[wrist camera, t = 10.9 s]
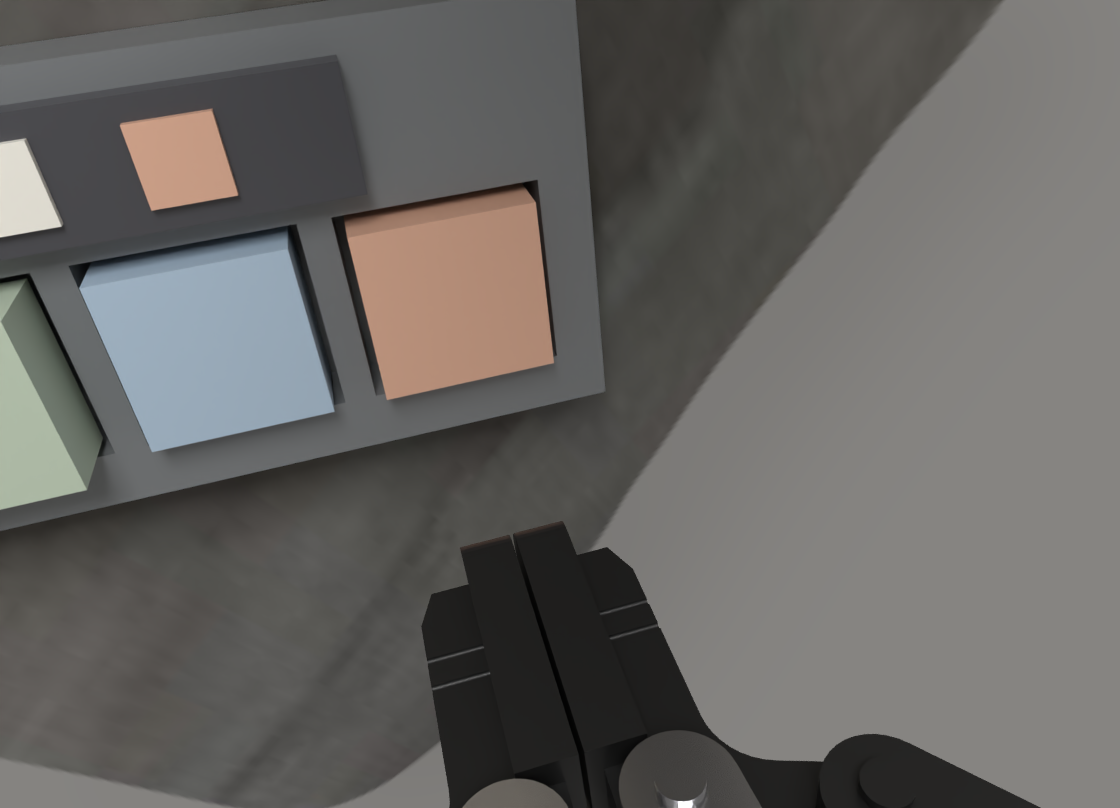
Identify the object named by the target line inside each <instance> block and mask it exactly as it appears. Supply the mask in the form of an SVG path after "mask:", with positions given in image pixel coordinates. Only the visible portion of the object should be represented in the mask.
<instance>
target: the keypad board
mask: <svg viewBox="0 0 1120 808" xmlns="http://www.w3.org/2000/svg"><path fill="white" fill-rule="evenodd" d="M516 183H522V184H523V186H524V187H525V188H526V190H527V191H528V192H529V194H530V195H531V197H532V198H533V199H534V201H535V202H536V208H537V217H538V226H539V235H540V244H541V253H542V261H543V270H544V279H545V288H546V297H547V306H548V314H549V323H550V332H551V341H552V350H553V359H554V363H552V364H547V365H543V366H538V367H534V368H529V369H525V370H520V371H516V372H511V373H507V374H502V375H498V376H493V377H489V378H484V379H480V380H475V381H471V382H466V383H462V384H457V385H453V386H448V387H444V388H439V389H435V390H430V391H426V392H421V393H417V394H412V395H408V396H403V397H399V398H394V399H390V400H387V398H386V394H385V390H384V386H383V382H382V378H381V374H380V370H379V365H378V361H377V357H376V353H375V349H374V345H373V341H372V337H371V333H370V329H369V325H368V321H367V317H366V312H365V308H364V304H363V300H362V296H361V292H360V288H359V284H358V280H357V276H356V272H355V268H354V264H353V260H352V255H351V251H350V247H349V243H348V239H347V234H346V228H345V222H344V217H343V215H348V214H353V213H359V212H364V211H369V210H375V209H380V208H386V207H391V206H397V205H402V204H408V203H413V202H418V201H424V200H429V199H435V198H440V197H446V196H451V195H456V194H462V193H467V192H473V191H478V190H484V189H489V188H495V187H500V186H505V185H511V184H516ZM288 225H290V227H291V231H292V235H293V238H294V242H295V245H296V249H297V252H298V256H299V259H300V263H301V266H302V270H303V274H304V277H305V281H306V284H307V288H308V291H309V295H310V298H311V302H312V305H313V309H314V313H315V316H316V320H317V323H318V327H319V330H320V334H321V337H322V341H323V344H324V348H325V351H326V355H327V359H328V362H329V366H330V369H331V379H332V390H333V400H334V410H335V412H331V413H327V414H322V415H318V416H313V417H309V418H304V419H300V420H295V421H291V422H286V423H282V424H277V425H273V426H268V427H264V428H259V429H255V430H250V431H246V432H241V433H237V434H232V435H228V436H223V437H219V438H214V439H210V440H205V441H201V442H196V443H192V444H187V445H183V446H178V447H174V448H169V449H165V450H160V451H156V452H152V451H151V449H150V447H149V444H148V442H147V440H146V438H145V435H144V433H143V431H142V429H141V426H140V424H139V422H138V420H137V417H136V415H135V413H134V411H133V408H132V406H131V404H130V402H129V399H128V397H127V395H126V393H125V390H124V388H123V386H122V384H121V381H120V379H119V377H118V375H117V372H116V370H115V368H114V366H113V363H112V361H111V359H110V357H109V354H108V352H107V350H106V348H105V345H104V343H103V341H102V339H101V336H100V334H99V332H98V330H97V327H96V325H95V323H94V321H93V318H92V316H91V314H90V312H89V309H88V307H87V305H86V303H85V300H84V298H83V296H82V294H81V291H80V289H79V288H80V286H81V283H82V281H83V279H84V277H85V275H86V273H87V271H88V268H89V266H90V264H91V262H92V261H97V260H103V259H108V258H114V257H119V256H125V255H130V254H136V253H141V252H146V251H152V250H157V249H163V248H168V247H174V246H179V245H184V244H190V243H195V242H201V241H206V240H212V239H217V238H223V237H228V236H233V235H239V234H244V233H250V232H255V231H261V230H266V229H272V228H277V227H282V226H288ZM26 278H27V280H28V282H29V284H30V286H31V288H32V290H33V292H34V294H35V296H36V299H37V301H38V303H39V305H40V307H41V309H42V311H43V313H44V315H45V317H46V319H47V322H48V324H49V326H50V328H51V330H52V332H53V334H54V336H55V338H56V340H57V342H58V345H59V347H60V349H61V351H62V353H63V355H64V357H65V359H66V361H67V363H68V365H69V367H70V370H71V372H72V374H73V376H74V378H75V380H76V382H77V384H78V386H79V388H80V390H81V393H82V395H83V397H84V399H85V401H86V403H87V405H88V407H89V409H90V411H91V413H92V416H93V418H94V420H95V422H96V424H97V426H98V428H99V430H100V432H101V434H102V436H103V439H102V443H101V446H100V449H99V453H98V456H97V459H96V462H95V466H94V469H93V472H92V475H91V479H90V482H89V485H88V489H87V490H85V491H81V492H76V493H72V494H67V495H63V496H59V497H54V498H50V499H45V500H41V501H36V502H32V503H28V504H23V505H19V506H14V507H10V508H6V509H1V510H0V531H3V530H7V529H11V528H16V527H20V526H24V525H29V524H33V523H37V522H42V521H46V520H50V519H55V518H59V517H63V516H68V515H72V514H77V513H81V512H85V511H90V510H94V509H98V508H103V507H107V506H111V505H116V504H120V503H124V502H129V501H133V500H137V499H142V498H146V497H150V496H155V495H159V494H163V493H168V492H172V491H176V490H181V489H185V488H189V487H194V486H198V485H202V484H207V483H211V482H216V481H220V480H224V479H229V478H233V477H237V476H242V475H246V474H250V473H255V472H259V471H263V470H268V469H272V468H276V467H281V466H285V465H289V464H294V463H298V462H302V461H307V460H311V459H315V458H320V457H324V456H328V455H333V454H337V453H341V452H346V451H350V450H355V449H359V448H363V447H368V446H372V445H376V444H381V443H385V442H389V441H394V440H398V439H402V438H407V437H411V436H415V435H420V434H424V433H428V432H433V431H437V430H441V429H446V428H450V427H454V426H459V425H463V424H467V423H472V422H476V421H480V420H485V419H489V418H494V417H498V416H502V415H507V414H511V413H515V412H520V411H524V410H528V409H533V408H537V407H541V406H546V405H550V404H554V403H559V402H563V401H567V400H572V399H576V398H580V397H585V396H589V395H593V394H598V393H602V392H605V380H604V367H603V354H602V341H601V328H600V314H599V301H598V288H597V275H596V262H595V249H594V236H593V223H592V210H591V196H590V183H589V170H588V157H587V144H586V131H585V118H584V105H583V92H582V78H581V65H580V52H579V39H578V26H577V13H576V0H327V1H319V2H312V3H305V4H298V5H291V6H284V7H277V8H270V9H263V10H256V11H249V12H242V13H234V14H227V15H220V16H213V17H206V18H199V19H192V20H185V21H178V22H171V23H164V24H157V25H150V26H142V27H135V28H128V29H121V30H114V31H107V32H100V33H93V34H86V35H79V36H72V37H65V38H58V39H50V40H43V41H36V42H29V43H22V44H15V45H8V46H1V47H0V283H4V282H10V281H15V280H21V279H26Z"/></svg>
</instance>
